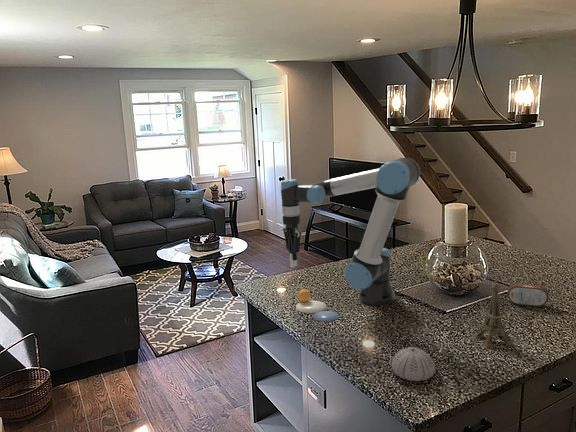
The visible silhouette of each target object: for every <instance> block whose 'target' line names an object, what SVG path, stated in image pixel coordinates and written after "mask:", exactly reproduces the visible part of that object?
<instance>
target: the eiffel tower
mask: <svg viewBox="0 0 576 432" xmlns="http://www.w3.org/2000/svg"><path fill="white" fill-rule="evenodd" d="M490 287H492V291H491V292H492V293H491V298H490V304H489V305H490V306H489V309H488V311H486V315H487V316H486V320H485V321H484V322H482V324H483V325H482V326H481V327H480V328H478V330H476V331H475V332H474V333H471V336H472V337H473V338H475V339H482V338H484V334H485V333H486V332H487V334H488V335H487V337H486V339H485V340H484V343H482V344H481V345H482V347H483V348H484V349H486V350H487V349H488V350H490V349H494V348H495V347H494V344H493V339H494V338H493V336H494V335H495V337H502V338H503V340H504V342H503V344H505V345H506V346H507V347H508V348H510V347H517V345H516V344H515V343H514V342H513V340H512V339H511V337H510V336H509V334H508V333H507V331H506V327H505V326H504V325H503V321H502V319H503V315H502V314H501V308H500V298H499V288H501V286H500V284H499V283H498V282H497V278H495V280H494V283H491V285H490Z"/></svg>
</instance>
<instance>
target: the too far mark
mask: <svg viewBox="0 0 576 432" xmlns="http://www.w3.org/2000/svg"><path fill="white" fill-rule="evenodd" d="M313 314H314V315H313V318H314V319H315V320H316V321H318V322H323V323H324V322H327V323H328V322H333V321H336V320H337V319H339V314H338V313H337V312H335V311H332V310H331V311H330V310H323V311H320V312H316V313H313Z"/></svg>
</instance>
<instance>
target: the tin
mask: <svg viewBox="0 0 576 432" xmlns="http://www.w3.org/2000/svg"><path fill="white" fill-rule="evenodd" d="M506 293H507V298H508V300H509V301H510V302H511V303H513V304H515V305H520V306H530V307H543V306H545V305H546V304H547V303H548V301H549V292H548V290H547V289H546V288H545V287H543V286H541V285H535V284H524V283H514V284H511V285H510V286H509V287H508V288H507V292H506Z"/></svg>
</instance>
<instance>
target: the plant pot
mask: <svg viewBox="0 0 576 432" xmlns="http://www.w3.org/2000/svg"><path fill="white" fill-rule="evenodd" d="M427 256H428V255H426V256H422V257H420V261H421V264H422V270H423V276H424V277H426V274H425V264H426V258H427Z"/></svg>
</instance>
